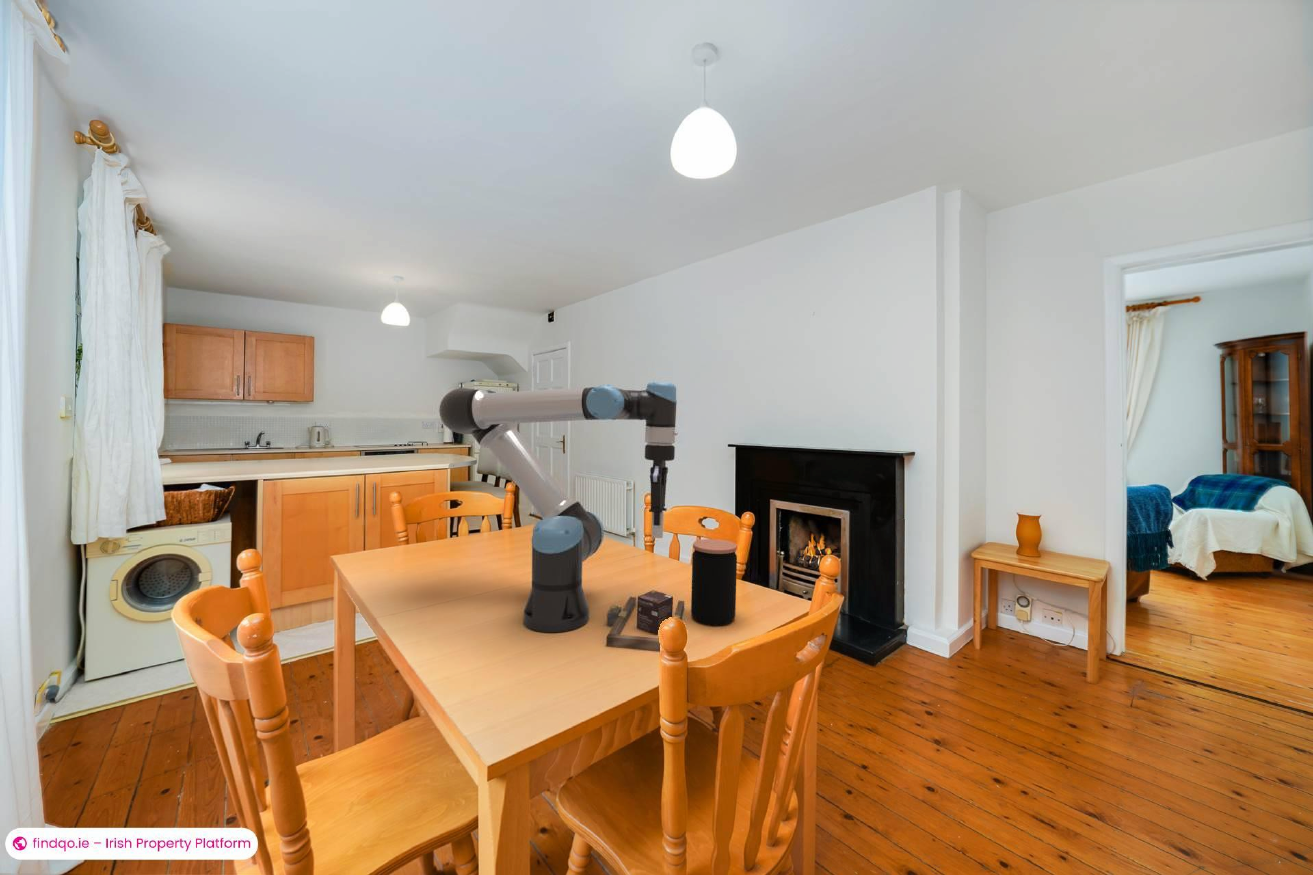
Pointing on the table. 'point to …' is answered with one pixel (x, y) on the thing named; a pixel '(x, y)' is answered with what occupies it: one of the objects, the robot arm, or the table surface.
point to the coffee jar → (714, 581)
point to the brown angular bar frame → (619, 620)
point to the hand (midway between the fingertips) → (657, 537)
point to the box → (653, 610)
